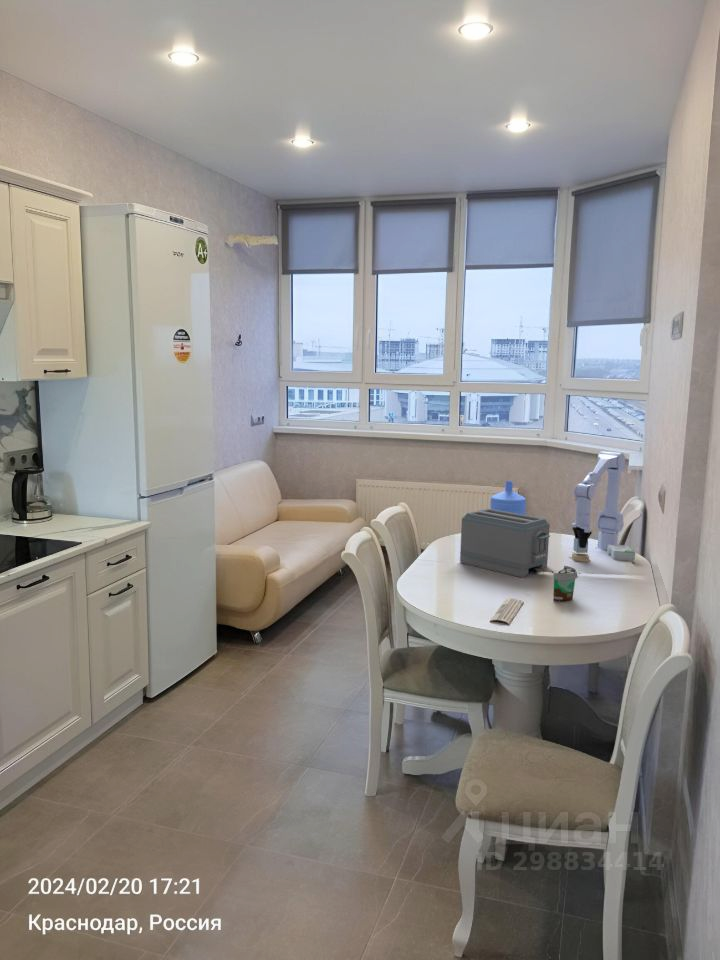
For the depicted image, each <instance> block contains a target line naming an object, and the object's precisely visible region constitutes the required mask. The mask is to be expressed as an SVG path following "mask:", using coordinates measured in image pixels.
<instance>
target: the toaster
mask: <svg viewBox="0 0 720 960" xmlns="http://www.w3.org/2000/svg"><path fill="white" fill-rule="evenodd" d="M550 525H551V524H550V523H549V522H548V521H547V520H546V518H543V517H538V516H531V515H526V514H525V515H521V514H515V513H510V512H504V511H498V510H493V509H490V508H485V509H482V510H481V509H480V510H475V511H471V512H466V514H465V515H464V516H463V517H462V518H461V528H460V529H461V530H460V554H459V563H462V564H464V563H465V565H468V564H469V566H473V567H477V568H480V567H481V568H480V569H484V568H485V570H488V569H489V570H488V571H493V572H497V573H501V574H504V575H505V574H506V575H508V576H513V577H517V578H521V579H523V578H526V577H527V576H528V574H529V570H530V569H535V570H537V568H542V569H543V568H546V567H547V568H548V558H549V543H550V537H551V535H550V528H551V527H550ZM541 571H544V570H541Z"/></svg>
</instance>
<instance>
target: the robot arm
mask: <svg viewBox="0 0 720 960" xmlns="http://www.w3.org/2000/svg"><path fill="white" fill-rule="evenodd" d="M625 467H626V456H625V454H624V453H623V452H615V451H605V450H601V451H600V452H599V453H598V455H597V463H596V465H595V466H594V468H593V470H592V471H590V472H588V473H587V475H586V476H585V477H584V479H583V480H582V481H581V483H577V484H576V485H575V487H574V491H573V494H574V501H575V502H576V503H575V516H574V518H575V520H574V523H571V526H572V528H571V529H572V531H573V534H574V538H579V546H580V548H585V547H586V544H587V541H588V542H589V538H590V537H591V535H592V534H593V532H592V531H591V524H590V522H591V512H592V511H591V508H592V499H594V496H595V493H596V490H597V489H596V488H597V487H598V485H599V484H600V483H601V481H602V478H601V477H602V476H603V474H604V473H605V472H607V473H608V476H607V485H606V495H605V496H606V497H605V505H604V509H603V510H600V511H599V513H598V517H597V520H596V526H597V529H598V531H599V532H598V535H597V546H595V547H594V548H595V549H598V550H603V551H607V548H608V544H609V545H610V544H611V545H618V541H619V533H620V532H622V530H623V529H624V514H623V513H622V512H620V510H618V505H619V503H618V502H619V495H620V494H619V493H620V484H621V483H620V482H621V475H622V474H621V473H622V472H624V471H625Z"/></svg>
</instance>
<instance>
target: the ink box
mask: <svg viewBox="0 0 720 960" xmlns="http://www.w3.org/2000/svg"><path fill="white" fill-rule="evenodd" d="M606 551H607V554H608V555H609V556H610V557H611V559H612V560H619V561H623V560H624V561H629V563H631V564H634V563H635V558H636V551H634V549H633V548H631V547H630V546H629V545H627V544H617V545H611V544H610V545H609V544H608V548H607V550H606Z"/></svg>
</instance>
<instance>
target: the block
mask: <svg viewBox="0 0 720 960" xmlns="http://www.w3.org/2000/svg"><path fill="white" fill-rule="evenodd" d="M588 547H589V540H588V541H587V544H586V547H585V548H580V546H579V538H575V537H574V538H573V551H574V552H576V553H588V552H589V548H588ZM588 554H589V553H588Z"/></svg>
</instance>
